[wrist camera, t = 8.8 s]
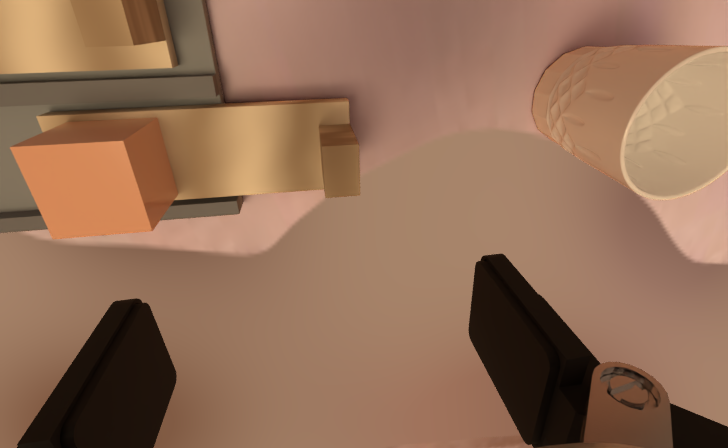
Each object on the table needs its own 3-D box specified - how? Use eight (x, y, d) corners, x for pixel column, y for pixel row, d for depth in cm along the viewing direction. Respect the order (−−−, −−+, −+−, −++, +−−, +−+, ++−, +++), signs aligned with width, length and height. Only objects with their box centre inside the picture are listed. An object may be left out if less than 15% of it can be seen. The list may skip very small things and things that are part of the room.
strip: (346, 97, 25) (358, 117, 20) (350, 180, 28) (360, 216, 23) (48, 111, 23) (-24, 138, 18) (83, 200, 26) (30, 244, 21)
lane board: (189, -86, 21) (178, -96, 19) (243, 202, 29) (239, 214, 27) (-323, -90, 18) (-391, -102, 16) (-105, 228, 26) (-135, 243, 24)
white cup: (508, 78, 27) (606, 106, 18) (613, 12, 26) (770, 10, 17) (541, 166, 31) (635, 225, 22) (634, 112, 30) (771, 151, 21)
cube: (157, 117, 23) (123, 140, 18) (178, 194, 25) (152, 230, 21) (66, 122, 22) (9, 147, 18) (97, 200, 25) (52, 239, 20)
